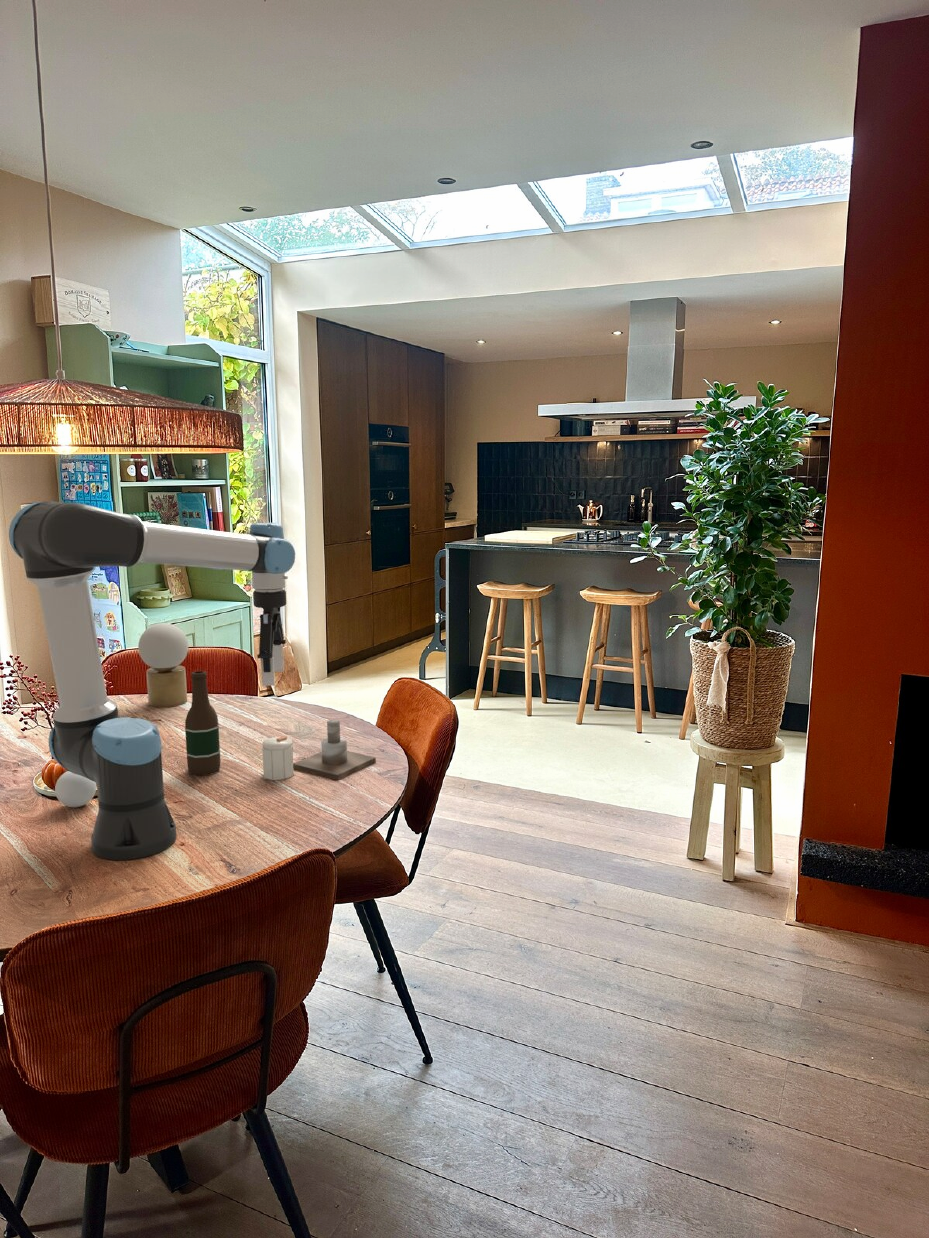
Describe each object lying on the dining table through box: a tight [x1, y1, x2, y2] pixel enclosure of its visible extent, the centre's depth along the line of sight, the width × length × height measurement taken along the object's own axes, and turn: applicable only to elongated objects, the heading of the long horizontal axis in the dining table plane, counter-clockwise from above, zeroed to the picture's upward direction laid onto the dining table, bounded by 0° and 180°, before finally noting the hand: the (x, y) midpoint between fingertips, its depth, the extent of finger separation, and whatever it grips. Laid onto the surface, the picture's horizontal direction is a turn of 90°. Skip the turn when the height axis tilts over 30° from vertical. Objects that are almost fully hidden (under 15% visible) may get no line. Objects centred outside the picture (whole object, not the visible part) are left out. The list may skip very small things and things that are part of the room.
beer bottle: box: [184, 670, 221, 776], centre depth 198 cm, size 8×8×24 cm
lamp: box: [137, 622, 189, 708], centre depth 254 cm, size 15×14×25 cm
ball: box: [54, 770, 97, 808], centre depth 178 cm, size 8×8×8 cm
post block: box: [293, 719, 377, 781], centre depth 202 cm, size 14×14×11 cm
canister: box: [261, 735, 295, 781], centre depth 196 cm, size 7×7×9 cm
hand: (273, 678), depth 200 cm, fingers open, 13 cm apart
